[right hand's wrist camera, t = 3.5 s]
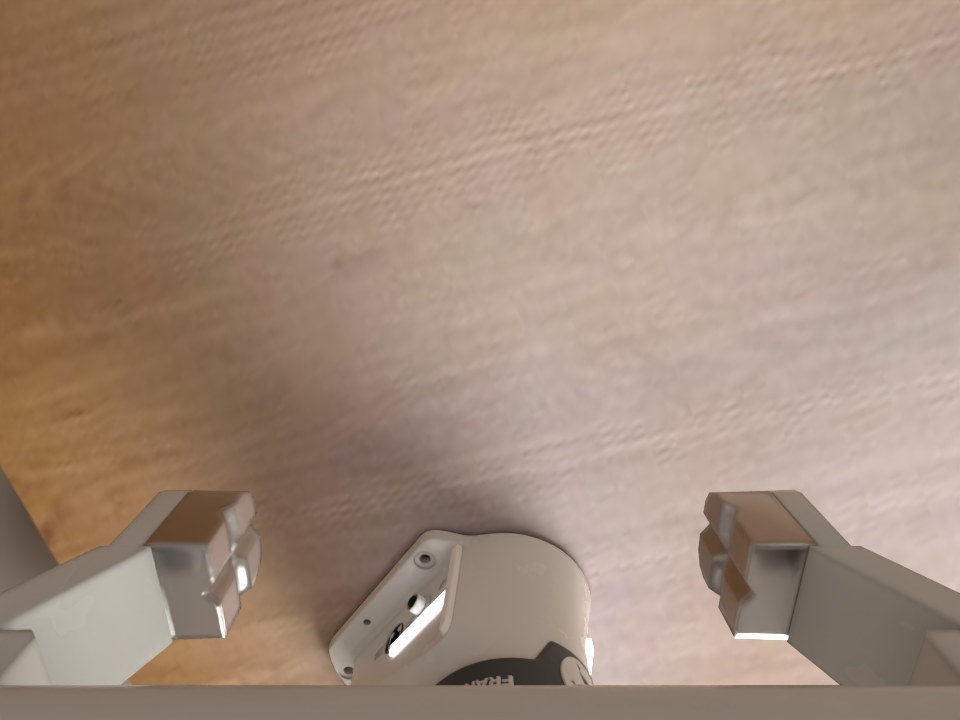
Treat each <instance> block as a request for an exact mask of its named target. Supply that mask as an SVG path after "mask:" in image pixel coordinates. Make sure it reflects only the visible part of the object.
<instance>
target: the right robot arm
mask: <svg viewBox="0 0 960 720" xmlns="http://www.w3.org/2000/svg"><path fill="white" fill-rule="evenodd" d="M256 513H257V512H256V507H255V502H254V497H253V496H252V495H251V494H250V493H249V492H247V491H198V490H194V491H191V490H166V491H162V492H159V493H158V494H157V495H156V496H155V497H154V498H153V499H152V501H151V502H150V503H149V504H148V505H147V506H146V507H145V508H144V509H143V510H142V511H141V512H140V513H139V514H138V515H137V517H136V518H135V519H134V520H133V521H132V522H131V523H130V524H129V525H128V526H127V527H126V528H125V529H124V530H123V531H122V533H121V534H120V535H119V536H118V537H117V538H116V539H115V540H114V541H113V542H112V543H111V544H110V545H109V546H99V547H97V548H95V549H92V550H90V551H88V552H86V553H84V554H82V555H80V556H78V557H76V558H73V559H71V560H69V561H67V562H65V563H63V564H61V565H59V566H56V567H54V568H52V569H50V570H48V571H46V572H44V573H42V574H40V575H37V576H35V577H33V578H31V579H29V580H27V581H25V582H23V583H21V584H18V585H16V586H14V587H12V588H10V589H8V590H6V591H4V592H2V593H0V720H960V593H958V592H956V591H954V590H952V589H950V588H948V587H946V586H943V585H941V584H939V583H937V582H935V581H933V580H931V579H929V578H927V577H924V576H922V575H920V574H918V573H916V572H914V571H912V570H910V569H908V568H905V567H903V566H901V565H899V564H897V563H895V562H893V561H891V560H889V559H887V558H884V557H882V556H880V555H878V554H876V553H874V552H872V551H870V550H868V549H865V548H863V547H861V546H851V545H850V544H849V543H848V542H847V541H846V540H845V539H844V538H843V537H842V536H841V535H840V534H839V532H838V531H837V530H836V529H835V528H834V527H833V526H832V525H831V524H830V523H829V522H828V521H827V520H826V519H825V518H824V516H823V515H822V514H821V513H820V512H819V511H818V510H817V509H816V508H815V507H814V506H813V505H812V504H811V503H810V502H809V500H808V499H807V498H806V497H805V496H804V495H803V494H802V493H800V492H798V491H796V490H776V491H751V492H709V494H708V496H707V498H706V501H705V507H704V512H703V513H704V514H705V516H706V518H707V519H708V521H709V523H710V524H709V525H708V526H707V527H706V528H705V529H704V530H703V531H702V532H701V533H700V539H699V548H698V552H699V563H700V568H701V571H702V575H703V578H704V580H705V582H706V584H707V586H708V588H709V589H711V590H712V591H714V592H715V593H717V594H718V595H720V601H719V609H720V611H721V613H722V615H723V617H724V619H725V620H726V622H727V624H728V626H729V628H730V630H731V632H732V634H733V636H734V638H757V639H788V640H787V642H788V643H789V644H790V645H792V646H793V647H794V648H795V649H797V650H798V651H799V652H800V653H801V654H803V655H804V656H805V657H806V658H808V659H809V660H810V661H811V662H813V663H814V664H815V665H816V666H817V667H819V668H820V669H821V670H822V671H824V672H825V673H826V674H827V675H828V676H830V677H831V678H832V679H833V680H835V681H836V682H837V683H838V684H840V685H593V682H592V678H591V667H592V659H593V650H594V649H593V644H592V640H591V638H588V623H589V615H590V609H591V595H590V590H589V586H588V583H587V580H586V578H585V576H584V574H583V572H582V571H581V569H580V568H579V566H578V565H577V564H576V563H575V562H574V561H573V560H572V559H571V558H570V557H569V556H568V555H567V554H566V553H564V552H563V551H562V550H560V549H559V548H557V547H555V546H554V545H552V544H550V543H548V542H546V541H543V540H541V539H538V538H535V537H531V536H527V535H522V534H515V533H491V534H482V535H461V534H457V533H453V532H448V531H443V530H430V531H427V532H425V533H423V534H422V535H421V536H420V537H419V538H418V539H417V541H416V542H415V543H414V544H413V545H412V546H411V547H410V549H409V550H408V551H407V552H406V553H405V554H404V556H403V557H402V558H401V559H400V560H399V561H398V562H397V564H396V565H395V566H394V567H393V568H392V569H391V571H390V572H389V573H388V574H387V575H386V576H385V577H384V579H383V580H382V581H381V582H380V583H379V584H378V586H377V587H376V588H375V589H374V590H373V591H372V592H371V594H370V595H369V596H368V597H367V598H366V599H365V601H364V602H363V603H362V604H361V605H360V606H359V607H358V609H357V610H356V611H355V612H354V613H353V614H352V616H351V617H350V618H349V619H348V620H347V621H346V622H345V624H344V625H343V626H342V627H341V628H340V629H339V631H338V632H337V633H336V634H335V635H334V636H333V638H332V639H331V641H330V645H329V656H330V659H331V662H332V664H333V666H334V668H335V670H336V672H337V673H338V675H339V676H340V678H341V679H342V680H343V681H344V683H345V684H346V685H121V684H122V683H123V682H124V681H126V680H127V679H128V678H129V677H130V676H132V675H133V674H134V673H135V672H137V671H138V670H139V669H140V668H142V667H143V666H144V665H145V664H146V663H148V662H149V661H150V660H151V659H153V658H154V657H155V656H156V655H158V654H159V653H160V652H161V651H162V650H164V649H165V648H166V647H167V646H169V645H170V644H171V643H172V642H173V640H172V639H202V638H226V636H227V634H228V632H229V630H230V628H231V626H232V624H233V622H234V621H235V619H236V617H237V615H238V613H239V611H240V609H241V601H240V595H242V594H243V593H245V592H246V591H248V590H249V589H251V588H252V586H253V584H254V582H255V580H256V578H257V576H258V571H259V567H260V562H261V539H260V533H259V532H258V531H257V530H256V529H255V528H254V527H253V526H252V525H251V524H250V523H251V521H252V519H253V518H254V516H255V514H256ZM421 555H428V556H429V557H423V556H421Z"/></svg>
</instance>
